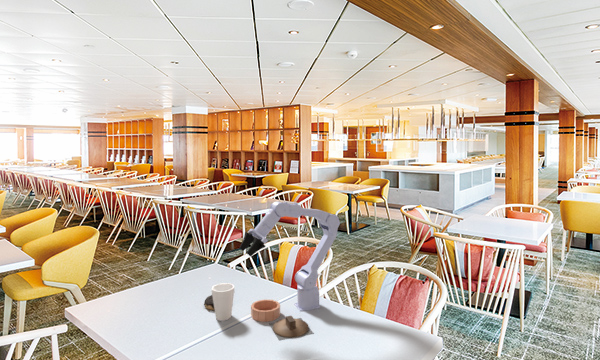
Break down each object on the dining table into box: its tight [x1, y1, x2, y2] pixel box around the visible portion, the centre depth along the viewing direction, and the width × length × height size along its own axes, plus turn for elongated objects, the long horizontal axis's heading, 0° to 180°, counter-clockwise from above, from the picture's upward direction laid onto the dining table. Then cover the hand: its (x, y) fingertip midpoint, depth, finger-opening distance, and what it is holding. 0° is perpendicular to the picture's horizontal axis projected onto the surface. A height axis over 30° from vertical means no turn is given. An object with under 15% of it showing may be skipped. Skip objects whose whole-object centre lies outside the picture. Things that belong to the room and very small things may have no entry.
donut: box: [203, 294, 215, 311], centre depth 169 cm, size 11×12×4 cm
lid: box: [272, 315, 309, 338], centre depth 147 cm, size 14×14×4 cm
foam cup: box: [211, 282, 235, 322], centre depth 157 cm, size 10×9×13 cm
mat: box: [268, 317, 315, 341], centre depth 147 cm, size 14×14×1 cm
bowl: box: [250, 299, 281, 323], centre depth 159 cm, size 12×12×4 cm
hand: (244, 252), depth 152 cm, fingers open, 7 cm apart
